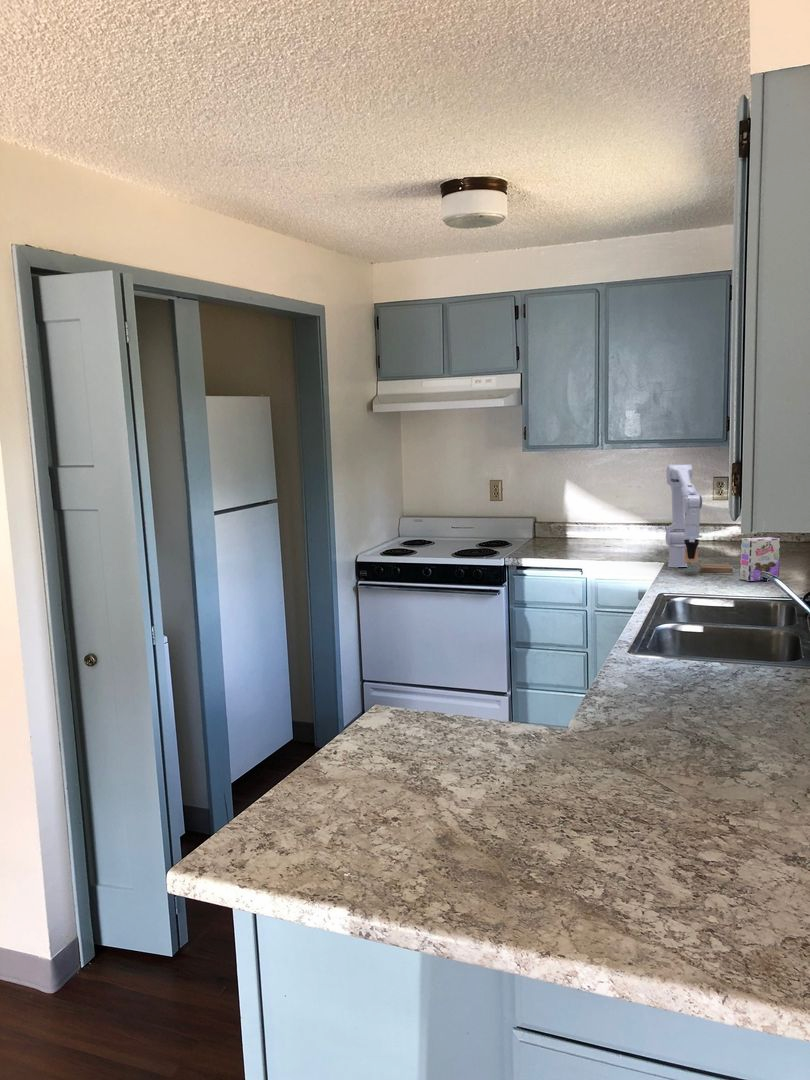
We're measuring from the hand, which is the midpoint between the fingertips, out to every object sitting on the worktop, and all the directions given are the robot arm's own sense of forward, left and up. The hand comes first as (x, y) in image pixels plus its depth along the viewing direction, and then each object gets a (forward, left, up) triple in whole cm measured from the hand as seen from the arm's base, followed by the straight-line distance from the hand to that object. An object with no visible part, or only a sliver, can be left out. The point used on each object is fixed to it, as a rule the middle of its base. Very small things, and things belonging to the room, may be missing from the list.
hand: (691, 557), depth 339 cm
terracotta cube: (0, 0, -2) cm, 2 cm away
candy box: (+9, +25, -7) cm, 28 cm away
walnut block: (-9, +10, -7) cm, 15 cm away
